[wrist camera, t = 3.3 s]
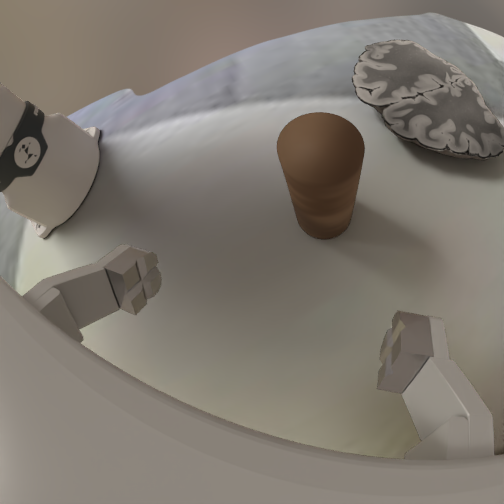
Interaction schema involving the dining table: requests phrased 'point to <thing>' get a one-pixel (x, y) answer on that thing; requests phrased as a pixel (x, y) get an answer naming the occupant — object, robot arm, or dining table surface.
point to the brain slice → (427, 100)
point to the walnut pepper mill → (321, 171)
